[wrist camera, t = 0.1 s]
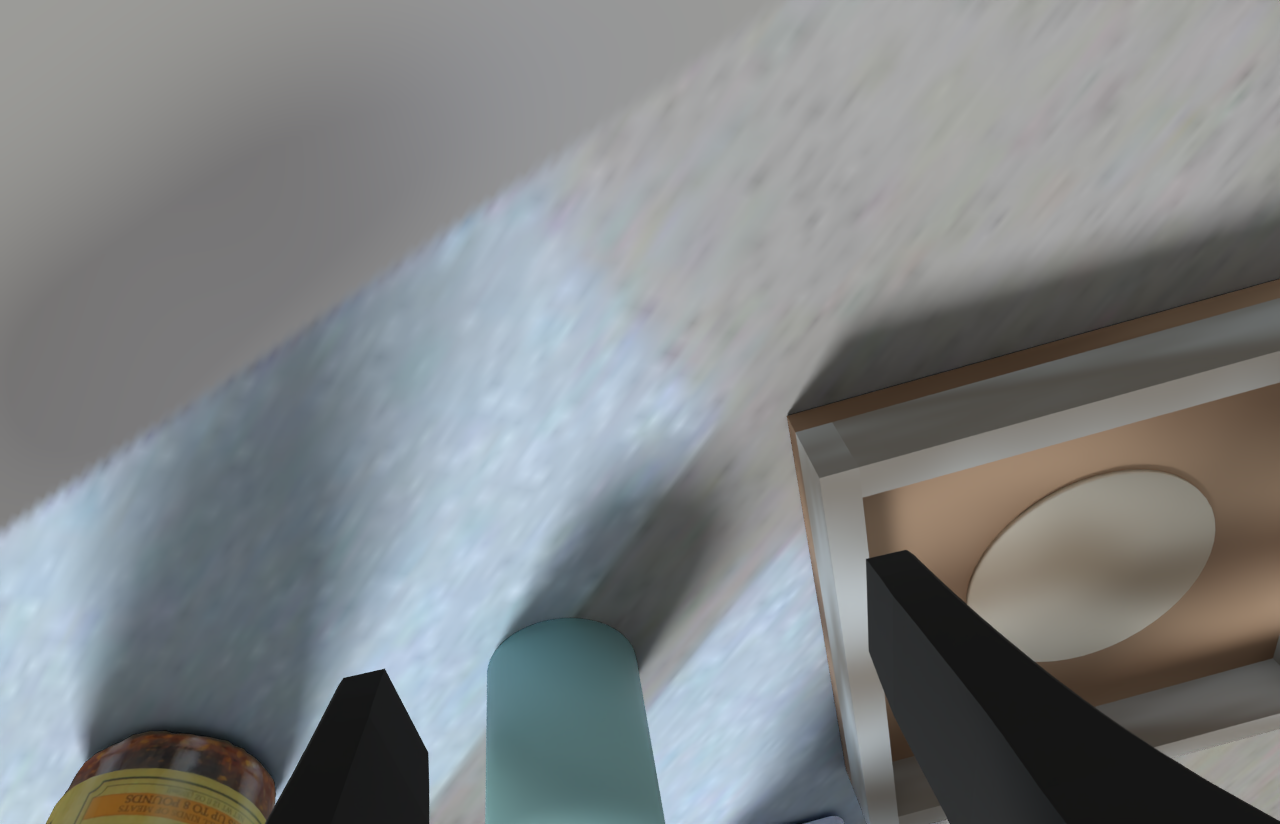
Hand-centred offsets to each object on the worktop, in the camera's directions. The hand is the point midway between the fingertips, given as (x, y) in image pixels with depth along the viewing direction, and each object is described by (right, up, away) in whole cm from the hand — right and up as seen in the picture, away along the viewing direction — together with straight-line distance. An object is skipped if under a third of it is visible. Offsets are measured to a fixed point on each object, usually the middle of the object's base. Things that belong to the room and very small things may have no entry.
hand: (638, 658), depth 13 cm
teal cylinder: (-2, -5, +15) cm, 16 cm away
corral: (+14, -1, +15) cm, 21 cm away
